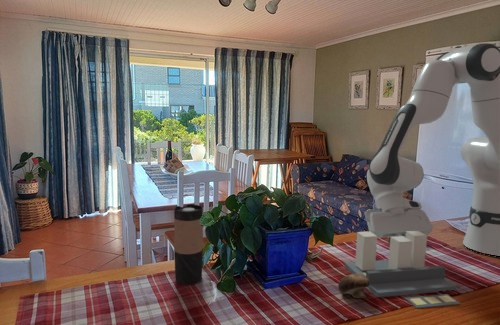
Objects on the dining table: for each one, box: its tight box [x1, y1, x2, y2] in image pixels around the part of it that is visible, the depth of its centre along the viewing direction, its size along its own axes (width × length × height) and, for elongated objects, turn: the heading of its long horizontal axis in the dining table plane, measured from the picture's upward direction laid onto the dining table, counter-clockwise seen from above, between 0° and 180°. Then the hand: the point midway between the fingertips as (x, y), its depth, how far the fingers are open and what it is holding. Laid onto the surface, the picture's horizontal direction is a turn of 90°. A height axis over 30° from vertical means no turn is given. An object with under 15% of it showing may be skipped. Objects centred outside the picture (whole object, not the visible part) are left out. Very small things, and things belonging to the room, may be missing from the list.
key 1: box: [354, 231, 378, 271], centre depth 99 cm, size 4×4×10 cm
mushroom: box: [337, 273, 370, 299], centre depth 87 cm, size 8×8×6 cm
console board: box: [344, 259, 458, 298], centre depth 97 cm, size 23×18×4 cm
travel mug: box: [173, 204, 204, 286], centre depth 93 cm, size 8×8×20 cm
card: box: [404, 293, 461, 310], centre depth 85 cm, size 12×4×1 cm, turn 101°
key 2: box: [406, 231, 428, 268], centre depth 101 cm, size 4×4×10 cm
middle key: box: [388, 236, 412, 269], centre depth 96 cm, size 4×4×10 cm
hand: (408, 248), depth 104 cm, fingers closed, pressing on key 2
